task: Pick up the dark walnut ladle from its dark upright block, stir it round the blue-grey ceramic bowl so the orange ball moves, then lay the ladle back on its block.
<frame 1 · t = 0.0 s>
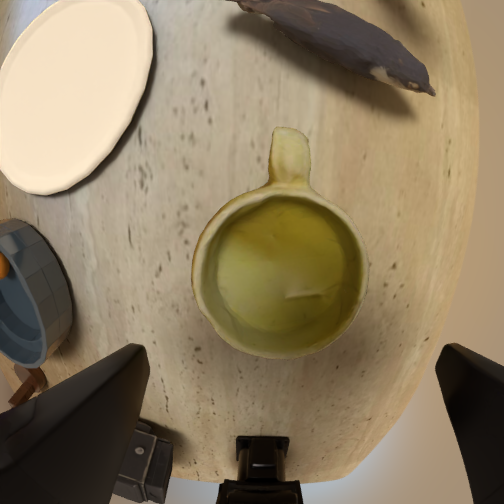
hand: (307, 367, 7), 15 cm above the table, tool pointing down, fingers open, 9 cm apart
bowl: (26, 284, 24), on the table
ladle: (53, 409, 31), on the table, touching dark upright block
mug: (279, 222, 21), on the table
bird model: (323, 46, 16), on the table
plate: (57, 84, 17), on the table
camera: (128, 422, 30), on the table
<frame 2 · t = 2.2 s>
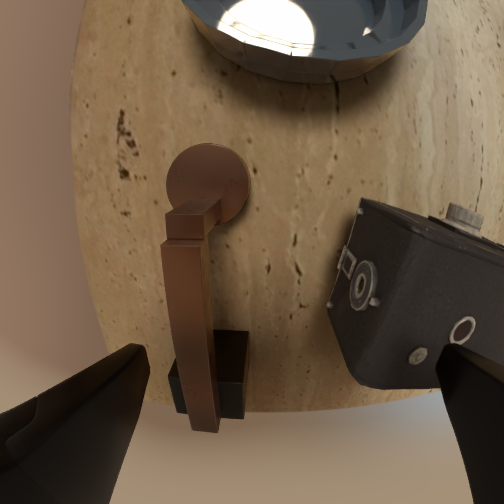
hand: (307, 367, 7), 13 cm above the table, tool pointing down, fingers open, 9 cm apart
ladle: (215, 296, 21), on the table, touching dark upright block
dark upright block: (219, 348, 23), on the table
camera: (409, 261, 20), on the table
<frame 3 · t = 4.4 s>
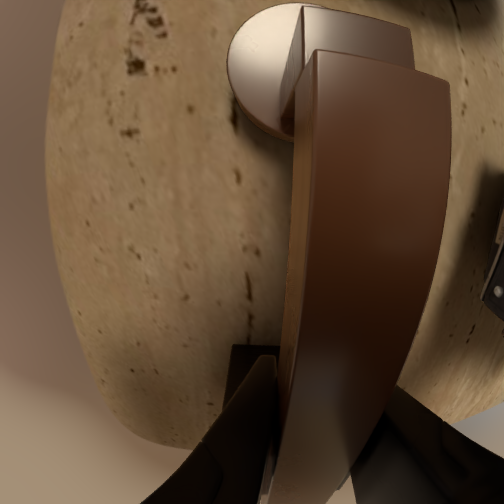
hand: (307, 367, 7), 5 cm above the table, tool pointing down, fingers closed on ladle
ladle: (290, 288, 12), on the table, touching gripper, dark upright block
dark upright block: (281, 375, 13), on the table
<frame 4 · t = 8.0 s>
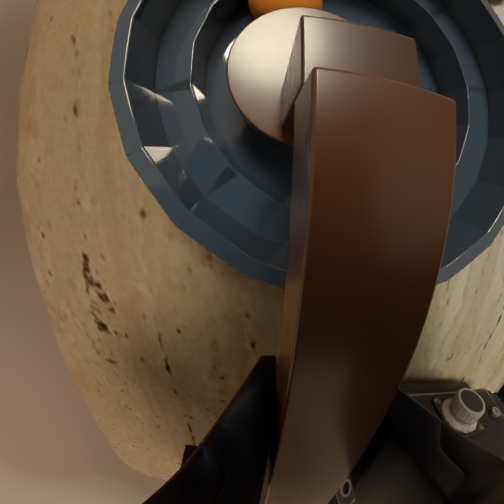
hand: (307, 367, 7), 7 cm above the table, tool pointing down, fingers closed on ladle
bowl: (332, 87, 11), on the table
ladle: (291, 296, 12), point 2 cm above the table, touching orange ball, gripper
orange ball: (285, 2, 8), point 2 cm above the table, tilted 21°, touching bowl, ladle
camera: (405, 399, 18), on the table
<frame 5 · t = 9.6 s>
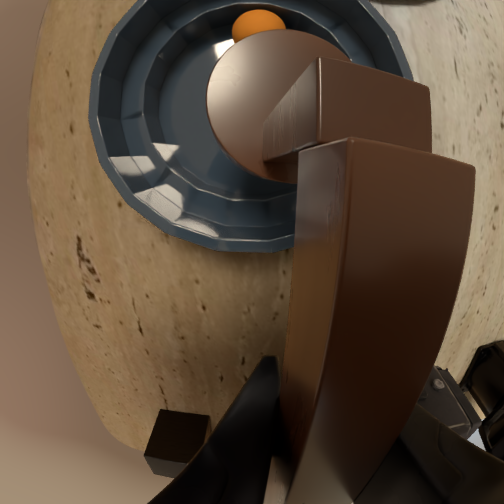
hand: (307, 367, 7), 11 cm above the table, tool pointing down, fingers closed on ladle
bowl: (252, 102, 15), on the table
ladle: (271, 328, 12), point 7 cm above the table, tilted 8°, touching gripper
orange ball: (259, 32, 12), point 2 cm above the table, tilted 98°, touching bowl
dark upright block: (186, 423, 24), on the table
camera: (353, 371, 22), on the table
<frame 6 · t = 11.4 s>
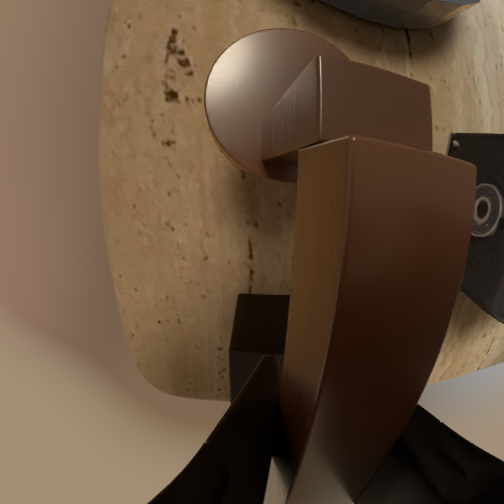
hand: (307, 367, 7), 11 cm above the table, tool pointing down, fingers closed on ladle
ladle: (270, 328, 12), point 7 cm above the table, tilted 8°, touching gripper
dark upright block: (274, 320, 19), on the table
camera: (475, 217, 16), on the table
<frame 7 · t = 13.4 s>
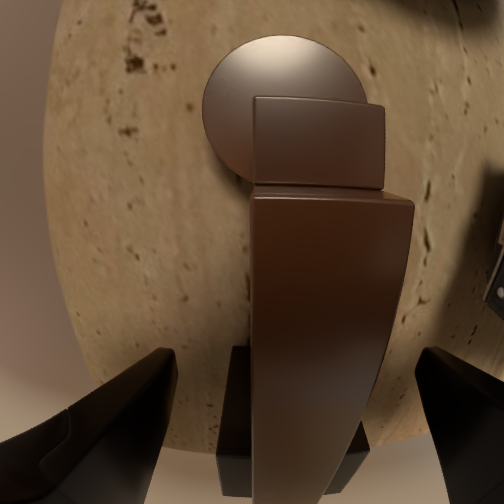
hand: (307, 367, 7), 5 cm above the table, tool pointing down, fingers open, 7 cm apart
ladle: (278, 322, 12), on the table, touching dark upright block
dark upright block: (282, 376, 13), on the table
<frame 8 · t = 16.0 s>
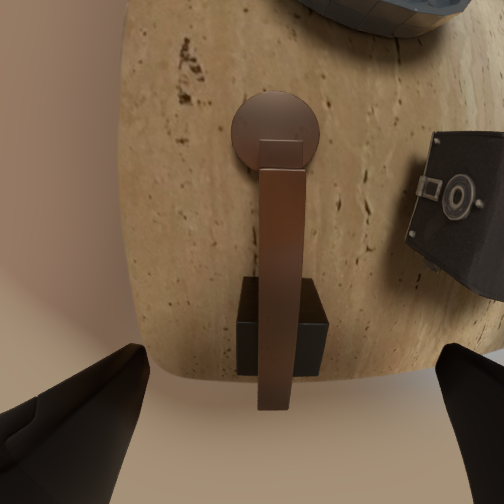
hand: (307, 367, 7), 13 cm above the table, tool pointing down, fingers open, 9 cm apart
ladle: (272, 259, 20), on the table, touching dark upright block
dark upright block: (276, 301, 21), on the table
camera: (461, 209, 18), on the table
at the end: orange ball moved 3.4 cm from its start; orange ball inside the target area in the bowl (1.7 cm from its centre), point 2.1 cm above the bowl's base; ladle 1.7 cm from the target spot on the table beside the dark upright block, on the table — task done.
